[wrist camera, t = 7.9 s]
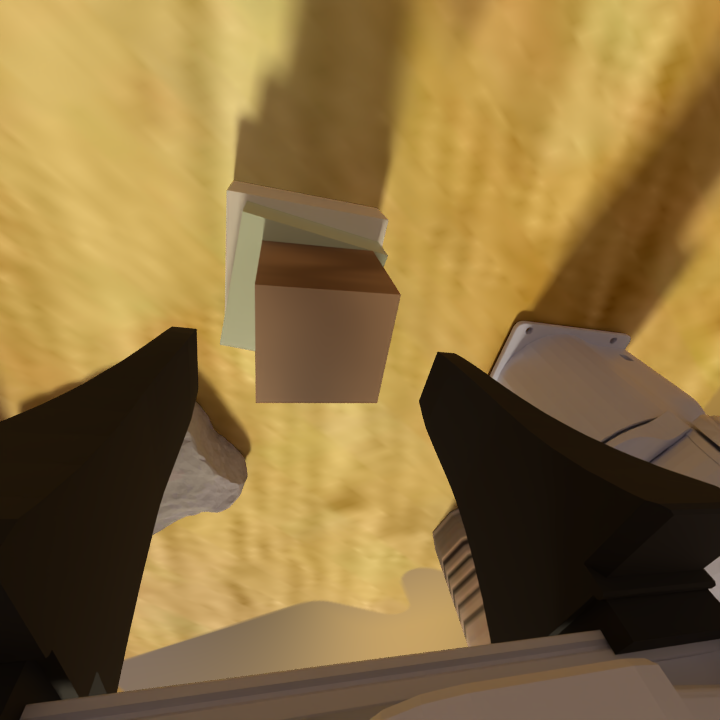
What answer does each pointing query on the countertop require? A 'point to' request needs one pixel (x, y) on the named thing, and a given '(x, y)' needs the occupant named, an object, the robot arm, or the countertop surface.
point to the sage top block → (252, 231)
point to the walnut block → (321, 324)
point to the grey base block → (301, 205)
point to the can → (461, 578)
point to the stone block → (202, 474)
